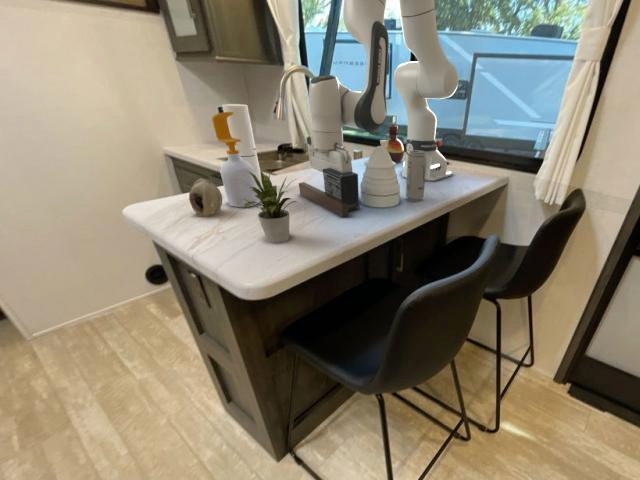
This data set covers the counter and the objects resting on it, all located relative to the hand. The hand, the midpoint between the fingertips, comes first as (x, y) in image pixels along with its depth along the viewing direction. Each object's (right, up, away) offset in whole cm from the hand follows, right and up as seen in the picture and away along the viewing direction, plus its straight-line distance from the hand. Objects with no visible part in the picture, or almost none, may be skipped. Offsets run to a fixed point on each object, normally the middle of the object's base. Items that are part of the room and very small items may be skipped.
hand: (332, 188), depth 104 cm
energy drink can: (+27, -2, +6) cm, 28 cm away
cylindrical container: (-30, +3, +10) cm, 32 cm away
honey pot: (+15, -3, +3) cm, 16 cm away
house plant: (-9, -21, -24) cm, 33 cm away
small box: (+4, -7, -3) cm, 9 cm away
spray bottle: (-26, -6, -4) cm, 27 cm away
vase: (+18, +33, +55) cm, 67 cm away
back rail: (-2, -6, -3) cm, 7 cm away
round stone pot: (-32, -12, -12) cm, 36 cm away
